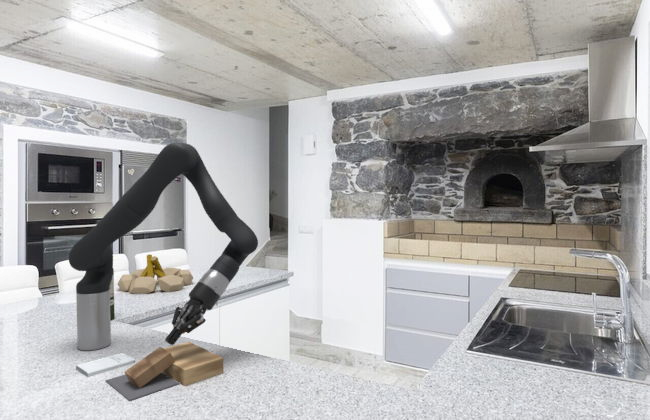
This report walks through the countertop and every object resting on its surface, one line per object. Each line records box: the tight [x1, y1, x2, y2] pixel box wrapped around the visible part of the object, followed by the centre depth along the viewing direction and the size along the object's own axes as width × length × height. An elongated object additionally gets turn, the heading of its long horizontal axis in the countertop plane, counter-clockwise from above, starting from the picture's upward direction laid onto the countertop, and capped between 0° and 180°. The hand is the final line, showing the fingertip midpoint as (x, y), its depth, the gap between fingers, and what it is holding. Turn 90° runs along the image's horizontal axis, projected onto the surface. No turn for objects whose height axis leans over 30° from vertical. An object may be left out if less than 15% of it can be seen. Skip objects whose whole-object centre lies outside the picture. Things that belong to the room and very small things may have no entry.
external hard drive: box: [75, 352, 136, 378], centre depth 118 cm, size 2×8×12 cm
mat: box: [105, 372, 180, 402], centre depth 107 cm, size 15×12×1 cm
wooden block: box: [162, 341, 224, 387], centre depth 115 cm, size 18×11×4 cm, turn 46°
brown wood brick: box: [124, 346, 175, 389], centre depth 108 cm, size 6×3×10 cm
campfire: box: [116, 253, 194, 295], centre depth 220 cm, size 35×34×17 cm
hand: (168, 343), depth 111 cm, fingers closed
